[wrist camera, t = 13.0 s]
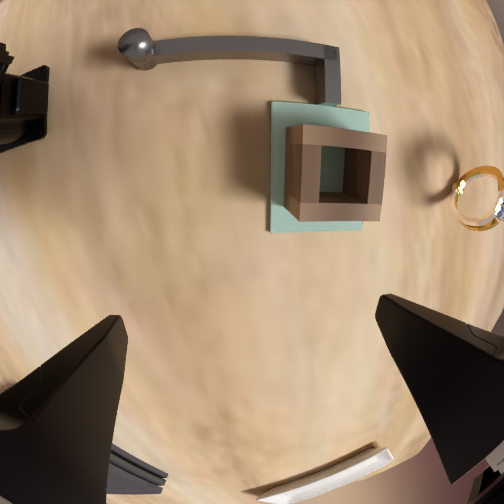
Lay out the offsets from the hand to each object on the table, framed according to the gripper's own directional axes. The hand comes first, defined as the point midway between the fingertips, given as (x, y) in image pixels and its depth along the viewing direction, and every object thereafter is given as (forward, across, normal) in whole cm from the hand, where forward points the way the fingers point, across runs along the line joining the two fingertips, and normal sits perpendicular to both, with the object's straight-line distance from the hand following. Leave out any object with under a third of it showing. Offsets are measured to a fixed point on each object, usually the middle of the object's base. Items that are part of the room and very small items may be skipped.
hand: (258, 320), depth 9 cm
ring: (+13, -23, -3) cm, 27 cm away
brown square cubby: (+13, -7, -4) cm, 15 cm away
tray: (+14, -19, +61) cm, 66 cm away
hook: (+13, 0, -11) cm, 17 cm away
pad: (+13, -7, -4) cm, 15 cm away
